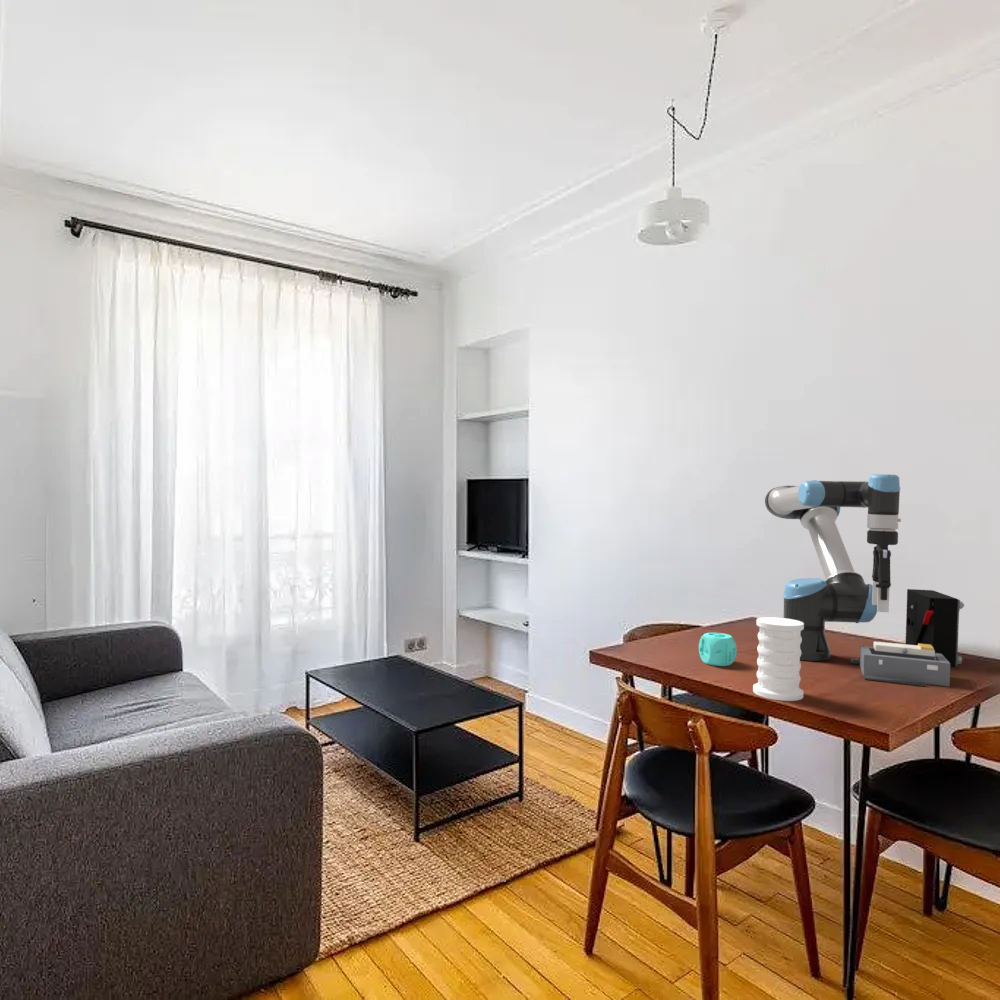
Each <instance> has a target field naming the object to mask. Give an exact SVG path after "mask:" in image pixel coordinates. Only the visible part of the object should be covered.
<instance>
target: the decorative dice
mask: <svg viewBox="0 0 1000 1000" xmlns="http://www.w3.org/2000/svg"><path fill="white" fill-rule="evenodd" d="M737 649H738V648H737V643H736V641H735V639H734V637H733V636H732V635H731V634H727V633H723V632H706V633H705V632H704V634H703V635H701V637H700V639H699V642H698V653H699V657H700V659H701V661H702V663H704V664H707V665H710V666H715V667H727V666H731V665H732V664H733V663H734V662H735V661H736V658H737V651H738V650H737Z"/></svg>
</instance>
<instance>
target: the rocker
mask: <svg viewBox="0 0 1000 1000" xmlns="http://www.w3.org/2000/svg"><path fill="white" fill-rule="evenodd" d="M873 647H874V649H875V651H883V652H893V653H903V654H913V655H923V656H933V657H935V650H934V648H933V647H932V646H931V645H930V644H919V643H918V646H917V645H907V644H906V643H897V642H896V643H893V642H886V641H873Z"/></svg>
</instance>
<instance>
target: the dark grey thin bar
mask: <svg viewBox="0 0 1000 1000" xmlns="http://www.w3.org/2000/svg"><path fill="white" fill-rule="evenodd" d="M863 679H864V680H867V681H876V682H881V683H882V682H883V683H891V684H901V685H909V686H918V687H926V684H925V682H916V681H908V680H899V679H890V678H881V677H872V676H864V677H863Z"/></svg>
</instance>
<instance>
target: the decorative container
mask: <svg viewBox="0 0 1000 1000" xmlns="http://www.w3.org/2000/svg"><path fill="white" fill-rule="evenodd" d="M755 625H756V626H757V627H758V628H759V630H758V633H757V640H758V645H757V647H756V648H757V649H756V650H757V653H758V657H757V660H756V664H757V666H758V667H757V669H758V670H756V678H757V682H756V683H754V684H753V685H752V692H753V693H754V694H755V695H757V696H758V697H761V698H764V699H768V700H773V701H780V702H781V701H783V702H796V701H801V700H802V699H803V698H804V690H803V689H802V688H800V683H801V680H802V678H801V675H800V670H801V668H802V663H801V660H800V657H801V649H800V644H801V642H802V638H801V636H800V633H801V630H803V629H804V623H803V622H801V621H797V620H793V619H787V618H783V617H775V616H774V617H772V616H771V617H770V616H769V617H758V618H756V624H755Z"/></svg>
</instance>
